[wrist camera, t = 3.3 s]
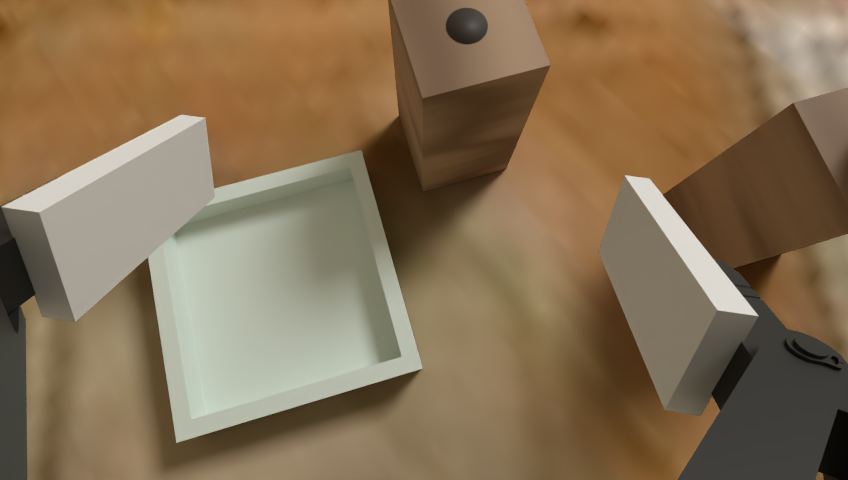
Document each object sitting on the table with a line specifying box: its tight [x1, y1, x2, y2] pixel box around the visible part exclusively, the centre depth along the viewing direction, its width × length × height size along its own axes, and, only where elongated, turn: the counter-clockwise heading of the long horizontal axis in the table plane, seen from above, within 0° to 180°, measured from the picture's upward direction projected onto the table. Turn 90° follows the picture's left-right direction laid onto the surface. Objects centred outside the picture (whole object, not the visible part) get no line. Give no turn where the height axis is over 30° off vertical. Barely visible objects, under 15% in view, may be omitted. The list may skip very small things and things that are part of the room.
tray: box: [148, 150, 423, 443], centre depth 25 cm, size 12×12×2 cm
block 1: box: [388, 0, 550, 192], centre depth 23 cm, size 5×5×10 cm
